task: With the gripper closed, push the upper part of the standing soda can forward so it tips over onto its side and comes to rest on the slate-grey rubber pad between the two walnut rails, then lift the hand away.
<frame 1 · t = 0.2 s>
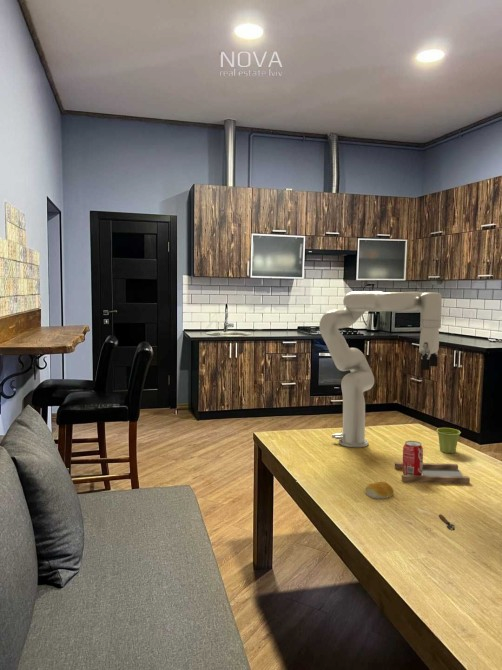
hand: (429, 367, 200), 37 cm above the table, tool pointing down, fingers open, 9 cm apart
soda can: (412, 475, 188), on the table
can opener: (446, 525, 150), on the table
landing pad: (443, 475, 187), on the table
plant pot: (447, 451, 214), on the table
bread roll: (379, 495, 171), on the table
walnut rails: (430, 475, 187), on the table
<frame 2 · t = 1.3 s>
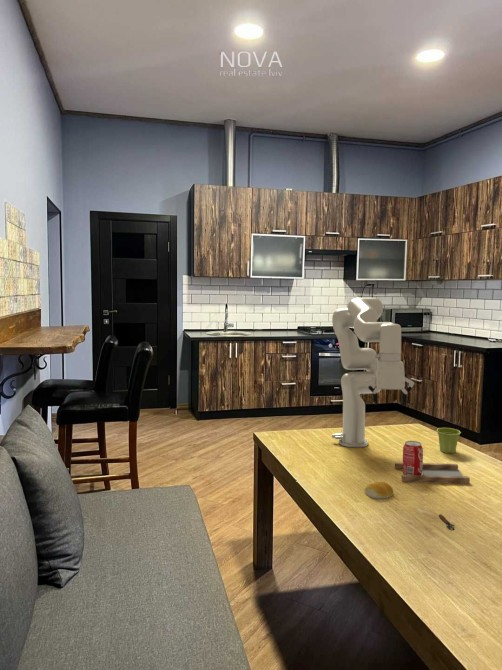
hand: (389, 404, 187), 26 cm above the table, tool pointing down, fingers open, 9 cm apart
nothing on the table moved.
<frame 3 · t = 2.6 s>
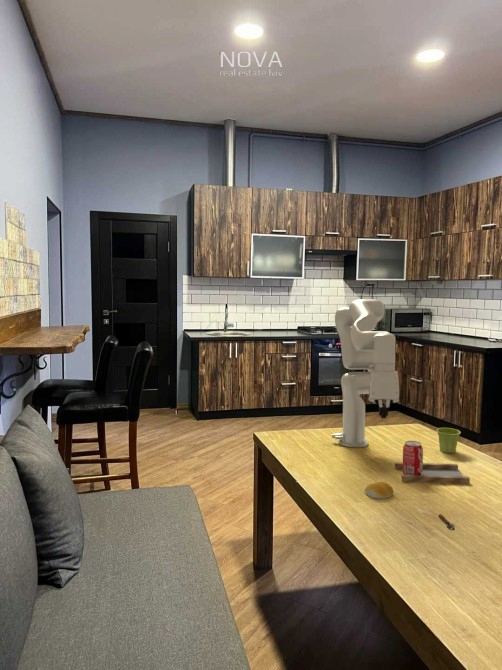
hand: (383, 417, 186), 21 cm above the table, tool pointing down, fingers closed
nothing on the table moved.
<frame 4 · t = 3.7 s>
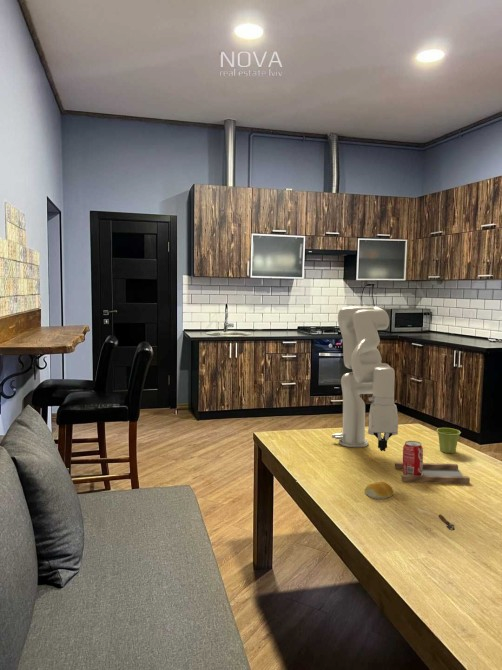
hand: (382, 449, 188), 9 cm above the table, tool pointing down, fingers closed
nothing on the table moved.
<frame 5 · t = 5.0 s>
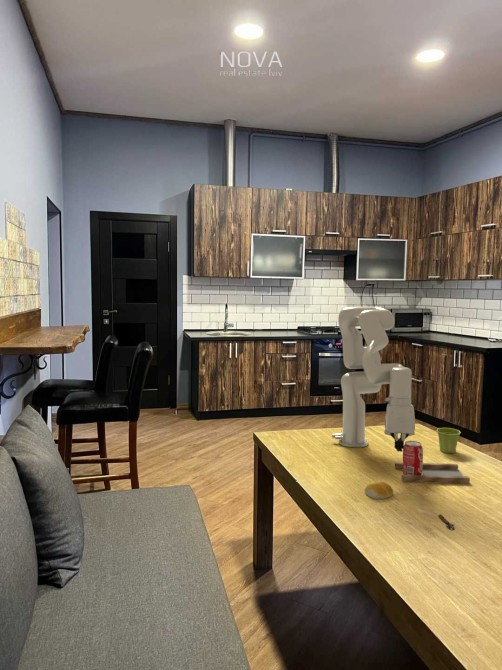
hand: (398, 450, 187), 9 cm above the table, tool pointing down, fingers closed
soda can: (412, 475, 188), on the table, touching gripper
everything else where it was.
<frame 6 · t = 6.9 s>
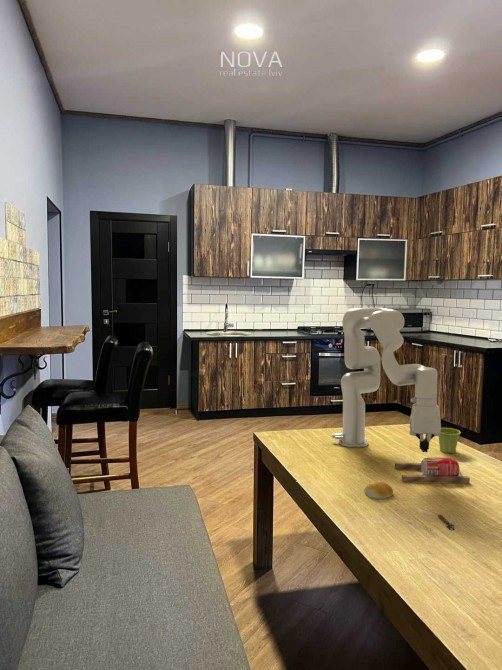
hand: (424, 451, 187), 9 cm above the table, tool pointing down, fingers closed
soda can: (422, 467, 185), point 4 cm above the table, touching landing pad
everything else where it was.
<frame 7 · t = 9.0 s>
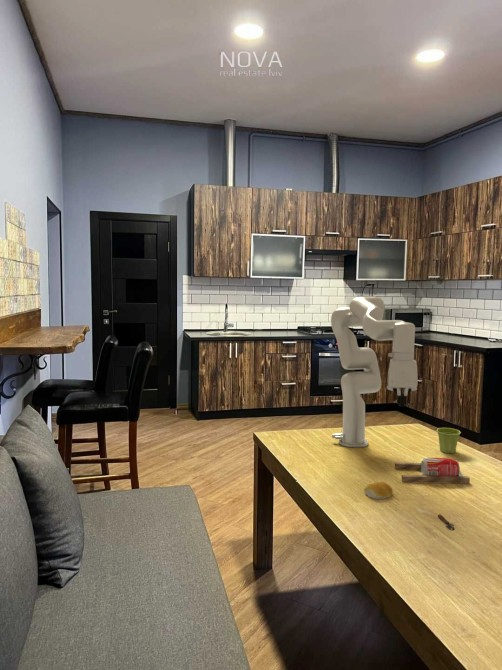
hand: (401, 405, 188), 25 cm above the table, tool pointing down, fingers closed
soda can: (422, 467, 185), point 4 cm above the table, touching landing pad, walnut rails
everything else where it was.
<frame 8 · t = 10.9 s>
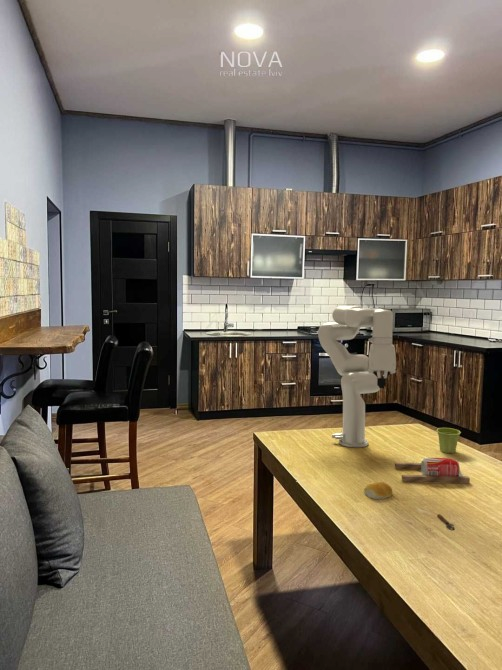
hand: (381, 387, 201), 29 cm above the table, tool pointing down, fingers closed
nothing on the table moved.
at the end: soda can tilted 90°; soda can inside the target area (5.7 cm from its centre), point 3.8 cm above the table; the gripper is holding nothing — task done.
